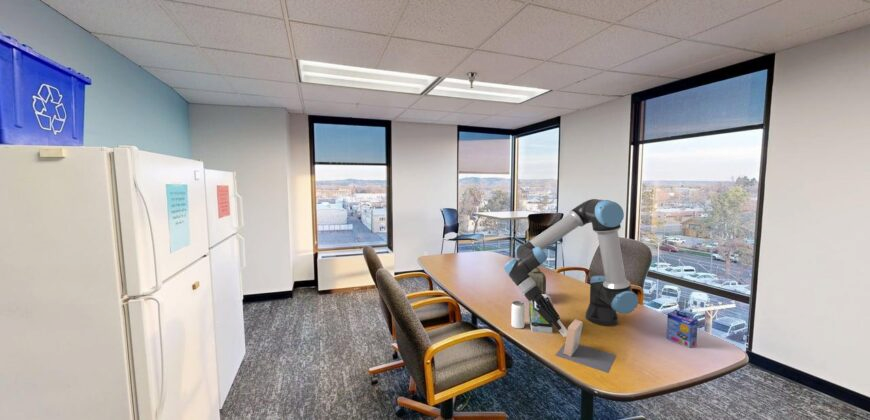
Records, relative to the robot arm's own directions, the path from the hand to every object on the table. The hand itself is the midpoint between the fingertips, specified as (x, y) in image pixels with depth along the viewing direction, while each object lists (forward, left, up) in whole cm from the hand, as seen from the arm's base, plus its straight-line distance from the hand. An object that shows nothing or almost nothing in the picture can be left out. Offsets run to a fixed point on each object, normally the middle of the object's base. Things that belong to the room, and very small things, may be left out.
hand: (566, 335), depth 139 cm
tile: (-2, +1, -6) cm, 6 cm away
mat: (-7, +4, -7) cm, 11 cm away
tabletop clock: (+4, -58, -7) cm, 59 cm away
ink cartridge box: (-53, -15, -7) cm, 55 cm away
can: (+18, -21, -7) cm, 29 cm away
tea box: (+7, -22, -7) cm, 25 cm away
